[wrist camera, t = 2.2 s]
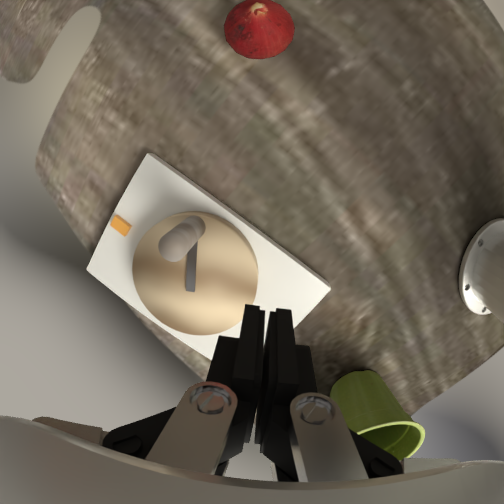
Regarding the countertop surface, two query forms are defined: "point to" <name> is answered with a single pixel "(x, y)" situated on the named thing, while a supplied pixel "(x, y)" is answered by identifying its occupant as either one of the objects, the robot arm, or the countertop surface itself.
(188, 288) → the capstan dial
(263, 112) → the countertop surface
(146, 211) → the stand
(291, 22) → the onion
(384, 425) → the plant pot
